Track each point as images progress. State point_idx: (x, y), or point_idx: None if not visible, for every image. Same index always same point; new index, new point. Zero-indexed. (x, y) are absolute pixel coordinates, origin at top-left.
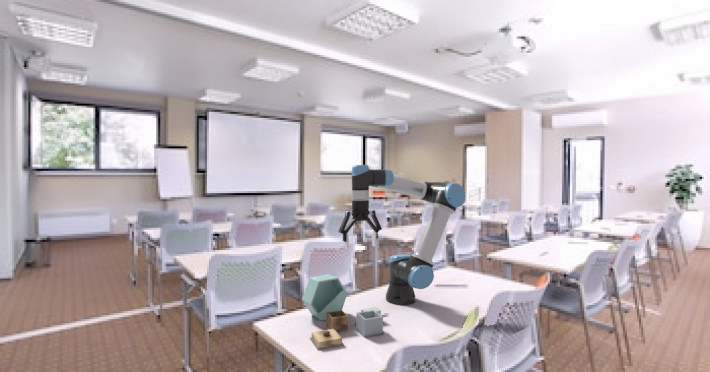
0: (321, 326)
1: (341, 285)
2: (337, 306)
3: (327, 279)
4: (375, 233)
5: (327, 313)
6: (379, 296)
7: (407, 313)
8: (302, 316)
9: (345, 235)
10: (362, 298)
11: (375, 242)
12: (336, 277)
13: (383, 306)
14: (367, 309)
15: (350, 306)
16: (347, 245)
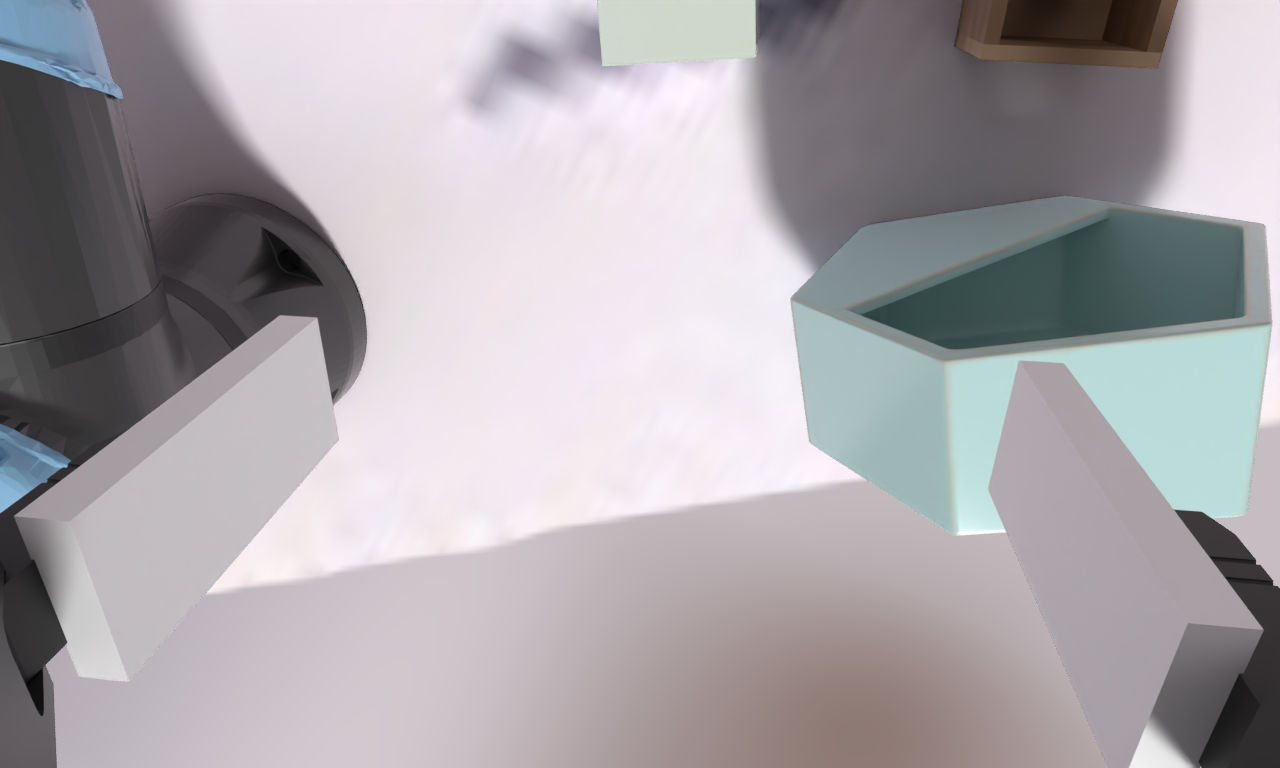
0: (1137, 75)
1: (879, 324)
2: (902, 246)
3: (1114, 351)
4: (78, 491)
5: (1165, 31)
6: (383, 440)
7: (313, 16)
8: None
9: (1267, 649)
10: (524, 460)
11: (249, 356)
12: (957, 378)
13: (440, 246)
14: (700, 29)
15: (687, 360)
16: (1091, 409)
